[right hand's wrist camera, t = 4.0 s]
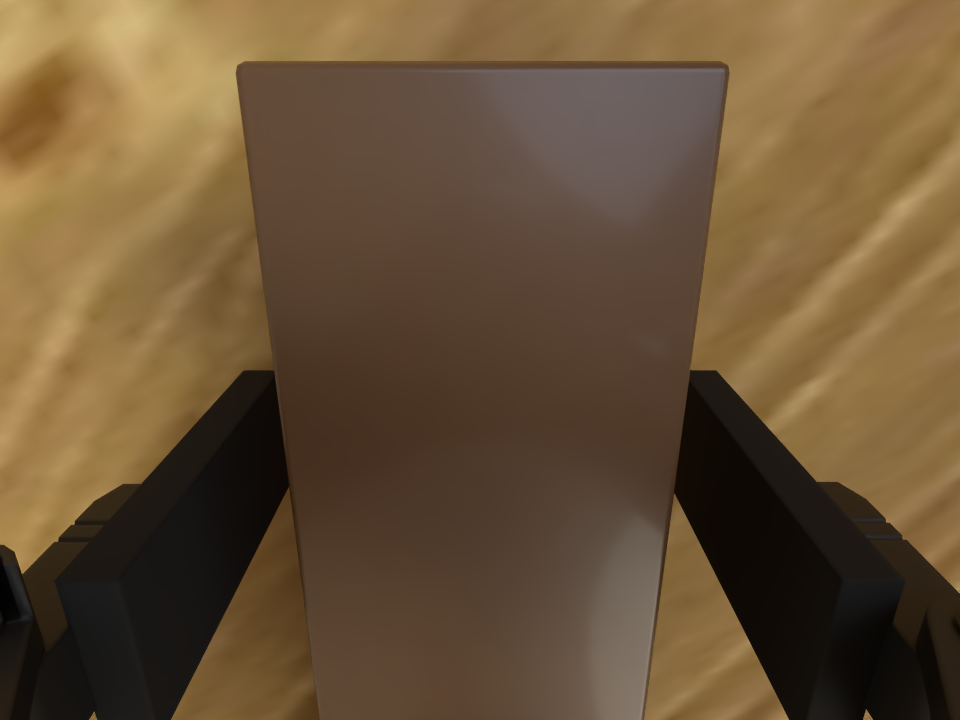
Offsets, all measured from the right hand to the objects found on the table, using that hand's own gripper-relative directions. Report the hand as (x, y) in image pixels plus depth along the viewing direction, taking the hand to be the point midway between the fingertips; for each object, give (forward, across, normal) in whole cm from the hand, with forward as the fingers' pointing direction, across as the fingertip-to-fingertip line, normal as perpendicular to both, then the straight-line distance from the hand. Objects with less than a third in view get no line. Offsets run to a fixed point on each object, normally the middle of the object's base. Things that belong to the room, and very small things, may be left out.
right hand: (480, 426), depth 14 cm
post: (+1, 0, -20) cm, 20 cm away
